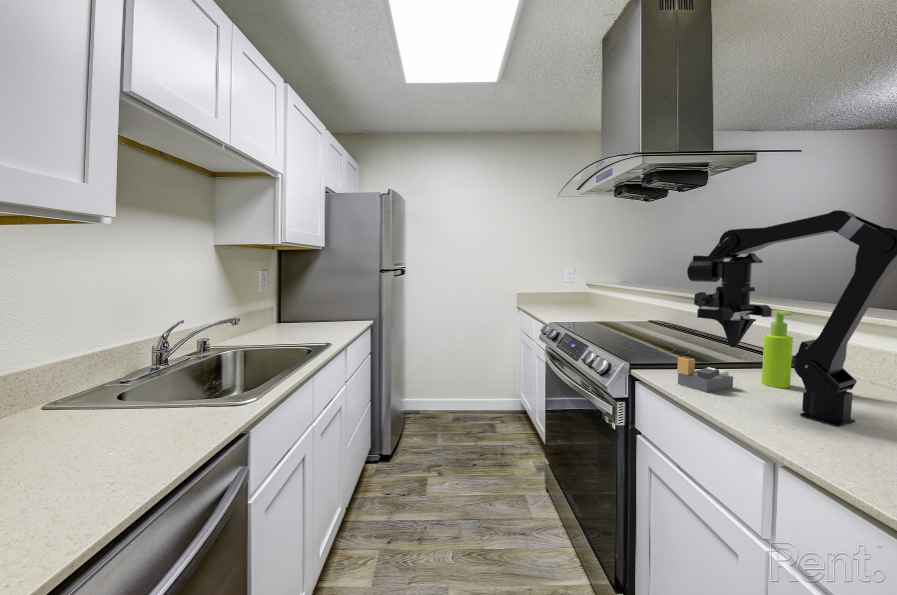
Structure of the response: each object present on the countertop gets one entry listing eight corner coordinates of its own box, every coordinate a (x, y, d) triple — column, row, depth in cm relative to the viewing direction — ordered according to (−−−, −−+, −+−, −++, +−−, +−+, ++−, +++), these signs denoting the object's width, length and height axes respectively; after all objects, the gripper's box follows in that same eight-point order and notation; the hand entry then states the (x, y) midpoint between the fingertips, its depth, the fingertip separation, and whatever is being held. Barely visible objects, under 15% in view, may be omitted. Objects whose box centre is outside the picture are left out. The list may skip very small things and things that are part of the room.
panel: (732, 387, 105) (733, 371, 105) (706, 392, 102) (707, 375, 101) (703, 380, 113) (703, 365, 113) (677, 383, 109) (678, 368, 109)
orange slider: (694, 374, 107) (695, 357, 107) (687, 375, 106) (688, 358, 106) (683, 371, 110) (684, 355, 109) (677, 372, 109) (677, 356, 108)
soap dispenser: (769, 388, 105) (773, 311, 104) (757, 381, 112) (761, 309, 110) (796, 390, 103) (801, 312, 102) (783, 383, 110) (787, 309, 109)
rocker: (719, 374, 103) (719, 369, 103) (708, 379, 102) (708, 373, 101) (707, 372, 106) (707, 366, 106) (697, 376, 104) (696, 370, 104)
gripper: (727, 281, 108) (725, 339, 109) (678, 282, 101) (675, 344, 102) (774, 282, 98) (771, 346, 99) (722, 283, 91) (719, 352, 92)
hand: (733, 347), depth 98 cm, fingers closed
